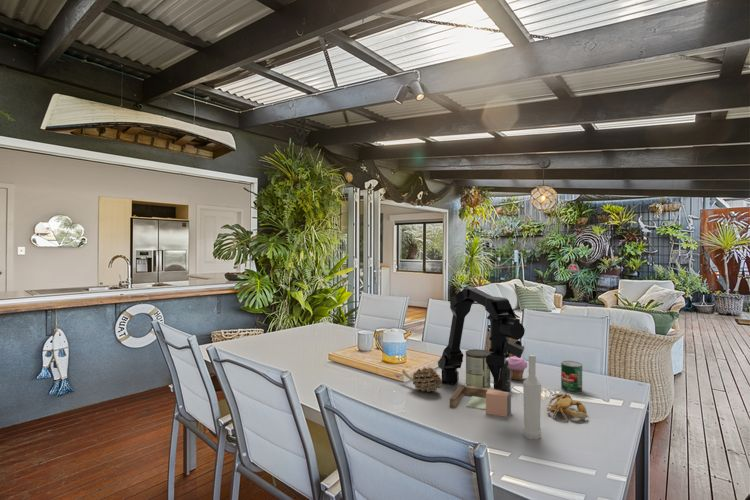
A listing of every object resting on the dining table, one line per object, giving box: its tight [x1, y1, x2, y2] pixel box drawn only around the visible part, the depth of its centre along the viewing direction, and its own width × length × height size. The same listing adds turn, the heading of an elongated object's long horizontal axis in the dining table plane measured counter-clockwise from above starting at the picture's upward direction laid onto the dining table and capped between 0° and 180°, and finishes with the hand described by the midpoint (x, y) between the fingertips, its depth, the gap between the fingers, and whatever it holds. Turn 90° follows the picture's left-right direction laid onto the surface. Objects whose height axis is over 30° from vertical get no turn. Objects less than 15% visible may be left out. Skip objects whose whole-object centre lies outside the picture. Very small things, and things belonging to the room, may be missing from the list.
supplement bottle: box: [493, 359, 512, 392], centre depth 168 cm, size 7×7×12 cm
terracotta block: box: [485, 388, 512, 418], centre depth 145 cm, size 8×4×7 cm, turn 65°
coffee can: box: [465, 348, 491, 389], centre depth 173 cm, size 10×10×14 cm
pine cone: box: [401, 366, 443, 393], centre depth 168 cm, size 22×10×10 cm, turn 44°
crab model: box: [546, 392, 589, 422], centre depth 144 cm, size 16×13×6 cm
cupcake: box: [507, 355, 528, 381], centre depth 182 cm, size 9×9×10 cm
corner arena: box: [449, 384, 501, 411], centre depth 154 cm, size 16×17×3 cm
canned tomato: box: [560, 360, 583, 395], centre depth 167 cm, size 8×8×11 cm
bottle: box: [522, 354, 542, 440], centre depth 127 cm, size 5×5×25 cm
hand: (498, 377), depth 145 cm, fingers open, 9 cm apart
